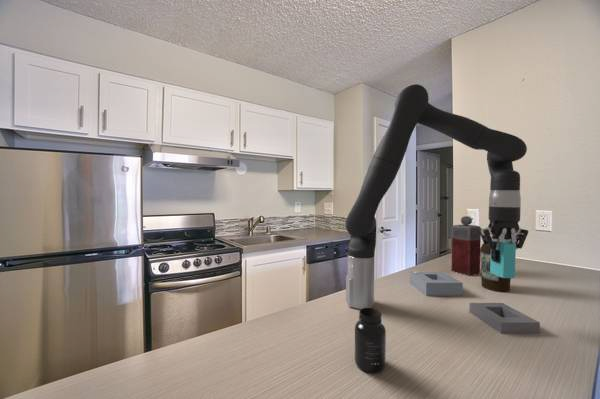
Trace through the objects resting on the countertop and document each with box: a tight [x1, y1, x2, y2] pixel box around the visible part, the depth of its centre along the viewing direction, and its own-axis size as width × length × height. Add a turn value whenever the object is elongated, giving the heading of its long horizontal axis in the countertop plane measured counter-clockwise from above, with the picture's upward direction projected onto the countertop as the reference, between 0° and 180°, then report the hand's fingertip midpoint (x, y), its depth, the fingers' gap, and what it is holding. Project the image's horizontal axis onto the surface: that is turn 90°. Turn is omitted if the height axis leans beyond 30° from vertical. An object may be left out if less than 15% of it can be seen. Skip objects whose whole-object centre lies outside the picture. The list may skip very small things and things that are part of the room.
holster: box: [468, 302, 541, 334], centre depth 78 cm, size 11×13×3 cm
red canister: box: [450, 215, 482, 277], centre depth 128 cm, size 9×11×28 cm
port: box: [409, 271, 464, 297], centre depth 105 cm, size 14×14×5 cm
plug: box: [490, 241, 517, 279], centre depth 78 cm, size 4×5×10 cm
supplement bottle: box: [354, 307, 387, 374], centre depth 58 cm, size 7×7×12 cm
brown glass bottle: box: [480, 232, 512, 293], centre depth 106 cm, size 11×11×25 cm
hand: (502, 261), depth 78 cm, fingers closed on plug, 3 cm apart
